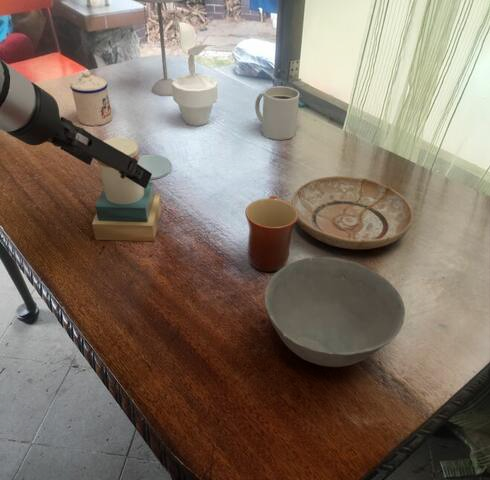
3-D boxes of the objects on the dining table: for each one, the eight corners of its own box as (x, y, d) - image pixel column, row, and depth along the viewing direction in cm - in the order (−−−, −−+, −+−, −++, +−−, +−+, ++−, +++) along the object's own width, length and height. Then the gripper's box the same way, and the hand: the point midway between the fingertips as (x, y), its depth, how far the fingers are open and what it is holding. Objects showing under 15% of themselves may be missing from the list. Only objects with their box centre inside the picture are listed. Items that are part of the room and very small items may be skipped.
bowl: (236, 362, 66) (238, 314, 58) (296, 289, 77) (303, 241, 70) (357, 423, 59) (375, 377, 52) (402, 334, 71) (422, 286, 63)
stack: (108, 207, 92) (101, 178, 88) (162, 209, 92) (158, 180, 88) (95, 239, 85) (87, 209, 80) (154, 241, 85) (150, 211, 80)
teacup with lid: (110, 126, 118) (101, 78, 110) (75, 126, 118) (63, 78, 109) (116, 108, 126) (109, 62, 118) (83, 108, 126) (73, 61, 117)
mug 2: (290, 279, 79) (297, 230, 71) (241, 274, 79) (242, 225, 72) (293, 238, 87) (299, 190, 79) (247, 235, 87) (249, 186, 80)
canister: (100, 188, 85) (89, 141, 78) (138, 181, 87) (131, 134, 81) (110, 208, 81) (100, 160, 74) (150, 199, 83) (143, 152, 76)
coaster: (117, 161, 105) (117, 159, 105) (162, 153, 109) (162, 151, 109) (131, 184, 99) (131, 181, 98) (178, 174, 102) (178, 172, 102)
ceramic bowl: (429, 228, 91) (437, 207, 87) (359, 280, 79) (366, 258, 75) (337, 184, 102) (341, 163, 98) (264, 223, 90) (266, 201, 86)
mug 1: (299, 138, 117) (304, 98, 110) (264, 141, 115) (266, 100, 108) (286, 121, 124) (290, 82, 117) (253, 124, 122) (255, 84, 115)
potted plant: (166, 120, 122) (155, 9, 104) (200, 109, 128) (195, 2, 110) (195, 136, 116) (189, 21, 98) (229, 124, 122) (230, 13, 103)
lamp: (204, 85, 141) (199, -53, 116) (179, 104, 130) (168, -43, 105) (155, 76, 144) (140, -59, 120) (127, 94, 133) (105, -50, 109)
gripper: (-48, 110, 65) (62, 167, 85) (71, 160, 56) (164, 211, 76) (-30, 59, 64) (77, 129, 84) (94, 102, 55) (182, 169, 75)
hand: (118, 168), depth 80 cm, fingers open, 13 cm apart
